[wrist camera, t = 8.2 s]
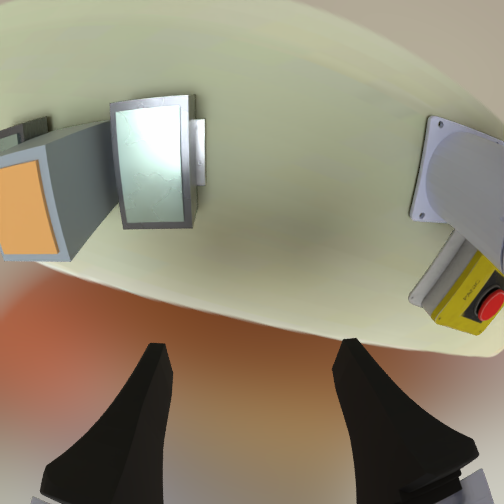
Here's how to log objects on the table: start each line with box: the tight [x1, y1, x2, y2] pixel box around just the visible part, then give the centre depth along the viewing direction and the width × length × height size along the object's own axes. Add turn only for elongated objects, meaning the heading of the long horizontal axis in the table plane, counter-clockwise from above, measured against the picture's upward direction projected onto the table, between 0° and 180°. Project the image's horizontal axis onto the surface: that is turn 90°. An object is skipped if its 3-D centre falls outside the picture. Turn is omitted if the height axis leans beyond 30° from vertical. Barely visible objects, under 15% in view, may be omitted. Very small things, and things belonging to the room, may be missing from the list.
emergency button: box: [408, 229, 504, 336], centre depth 22 cm, size 9×4×15 cm
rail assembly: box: [0, 94, 206, 229], centre depth 15 cm, size 15×7×4 cm, turn 88°
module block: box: [0, 120, 119, 262], centre depth 12 cm, size 4×5×8 cm
